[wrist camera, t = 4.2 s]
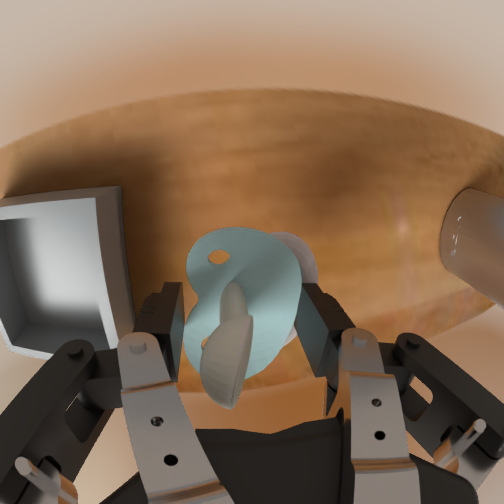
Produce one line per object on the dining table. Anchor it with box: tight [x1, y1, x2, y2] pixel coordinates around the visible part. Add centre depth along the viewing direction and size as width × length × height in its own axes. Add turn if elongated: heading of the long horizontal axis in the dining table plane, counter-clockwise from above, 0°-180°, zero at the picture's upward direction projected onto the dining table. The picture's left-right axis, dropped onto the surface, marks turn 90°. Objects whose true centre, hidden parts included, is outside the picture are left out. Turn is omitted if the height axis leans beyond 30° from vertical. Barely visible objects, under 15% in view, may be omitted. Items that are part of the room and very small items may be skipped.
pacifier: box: [183, 227, 318, 409], centre depth 10 cm, size 7×6×6 cm
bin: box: [0, 186, 137, 360], centre depth 15 cm, size 12×12×4 cm
